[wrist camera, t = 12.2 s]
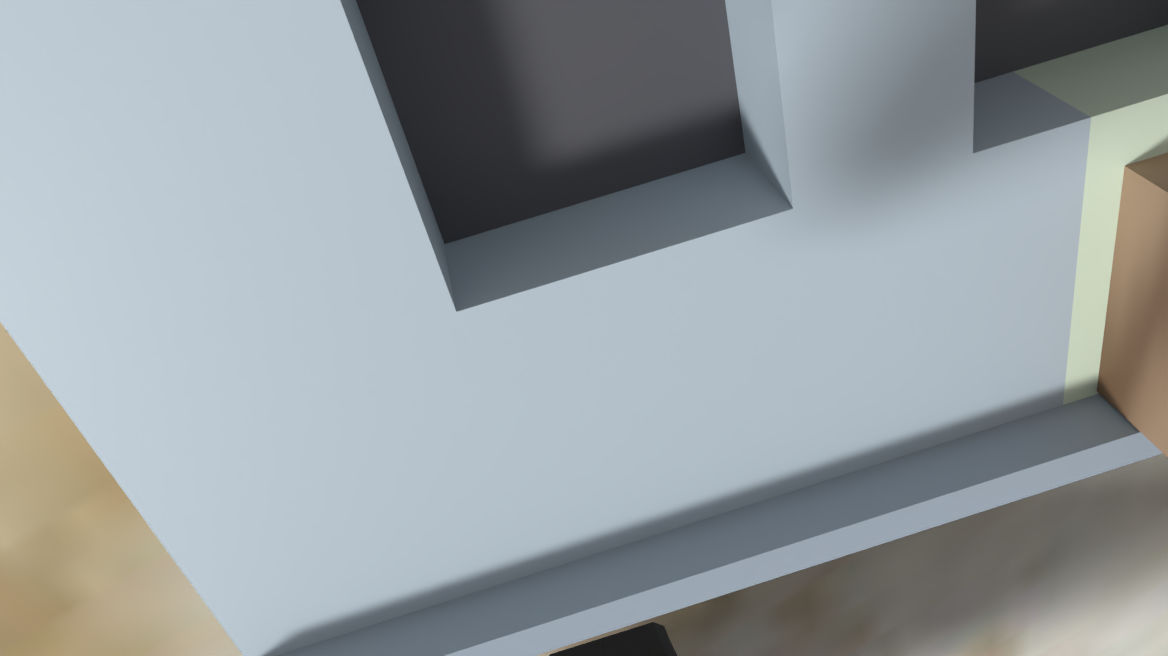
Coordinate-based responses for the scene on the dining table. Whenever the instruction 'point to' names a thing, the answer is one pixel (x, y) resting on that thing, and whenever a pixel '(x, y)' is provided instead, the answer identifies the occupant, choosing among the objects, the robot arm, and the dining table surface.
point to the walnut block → (1139, 304)
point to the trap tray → (564, 288)
